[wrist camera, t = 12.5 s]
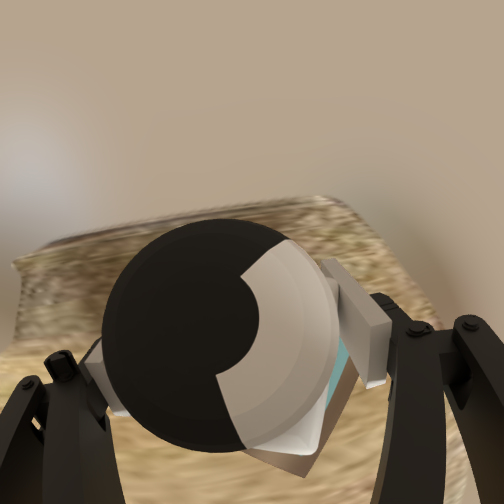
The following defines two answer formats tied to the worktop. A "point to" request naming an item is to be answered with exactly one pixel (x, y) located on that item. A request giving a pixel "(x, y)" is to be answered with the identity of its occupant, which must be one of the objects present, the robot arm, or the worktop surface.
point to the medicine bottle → (223, 339)
